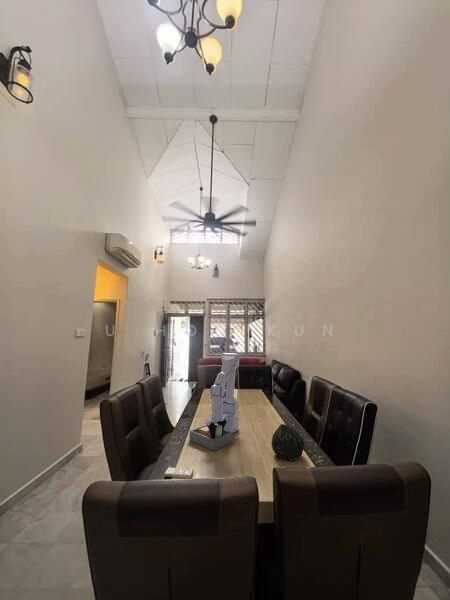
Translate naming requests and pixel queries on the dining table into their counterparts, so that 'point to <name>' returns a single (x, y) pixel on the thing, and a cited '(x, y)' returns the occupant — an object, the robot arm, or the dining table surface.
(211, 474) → the dining table surface
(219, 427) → the sage cylinder
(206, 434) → the terracotta cube
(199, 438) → the tray
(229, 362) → the robot arm
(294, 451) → the squash
